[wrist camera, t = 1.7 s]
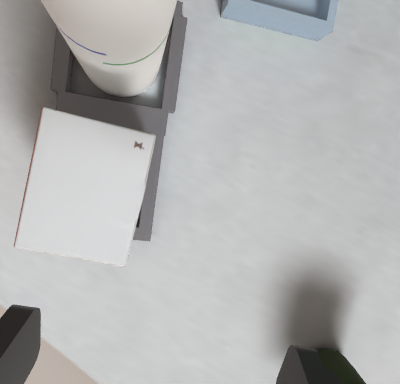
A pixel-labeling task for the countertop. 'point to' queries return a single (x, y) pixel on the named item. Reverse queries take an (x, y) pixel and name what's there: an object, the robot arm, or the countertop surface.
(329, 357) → the character mug
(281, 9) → the tray
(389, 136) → the countertop surface
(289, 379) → the robot arm
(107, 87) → the cylindrical container
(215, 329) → the countertop surface
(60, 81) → the holder
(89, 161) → the small box
